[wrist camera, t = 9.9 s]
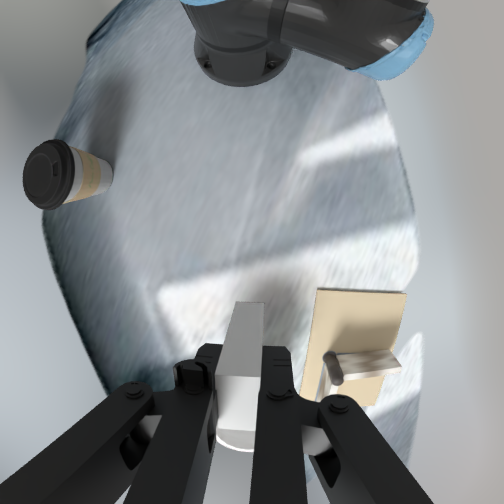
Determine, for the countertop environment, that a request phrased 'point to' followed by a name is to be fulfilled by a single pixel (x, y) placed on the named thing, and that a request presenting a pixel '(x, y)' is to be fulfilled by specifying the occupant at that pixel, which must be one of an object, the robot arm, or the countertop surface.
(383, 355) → the fence flap
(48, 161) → the coffee cup
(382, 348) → the card
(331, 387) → the fence fixed
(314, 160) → the countertop surface
